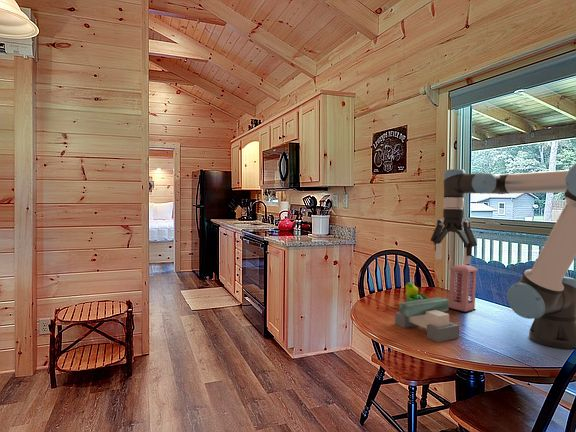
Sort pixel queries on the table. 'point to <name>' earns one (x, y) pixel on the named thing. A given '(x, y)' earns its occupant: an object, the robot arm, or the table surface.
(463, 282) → the miniature model
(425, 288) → the table surface
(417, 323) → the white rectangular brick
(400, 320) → the cradle
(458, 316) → the table surface
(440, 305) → the grey-green long bar
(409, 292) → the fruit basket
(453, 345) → the table surface
